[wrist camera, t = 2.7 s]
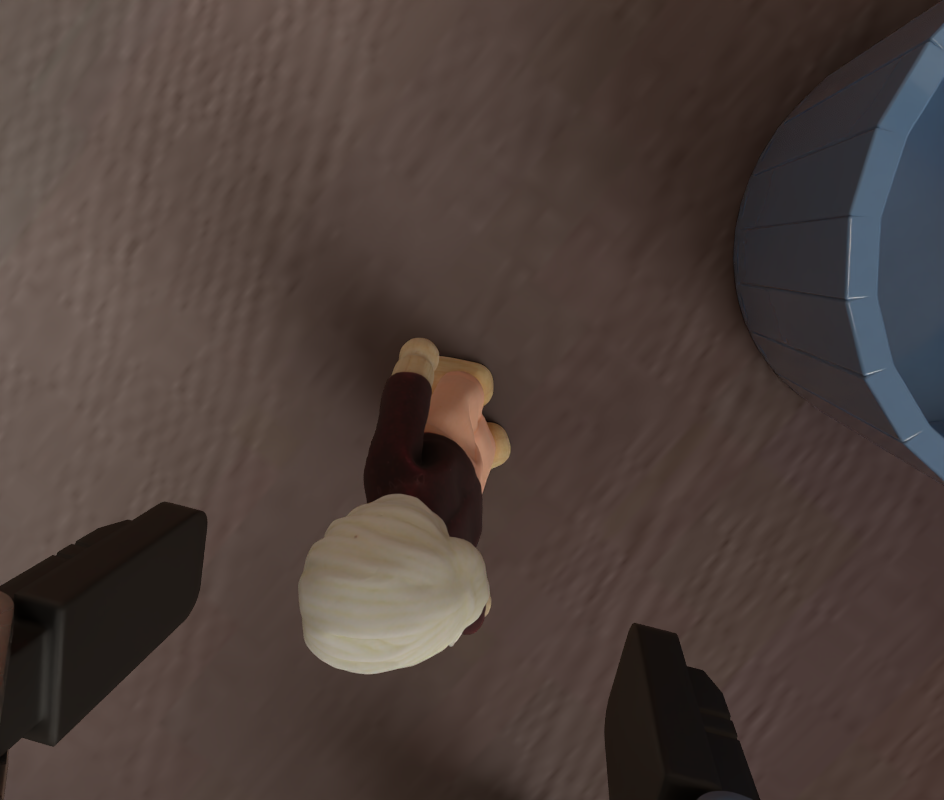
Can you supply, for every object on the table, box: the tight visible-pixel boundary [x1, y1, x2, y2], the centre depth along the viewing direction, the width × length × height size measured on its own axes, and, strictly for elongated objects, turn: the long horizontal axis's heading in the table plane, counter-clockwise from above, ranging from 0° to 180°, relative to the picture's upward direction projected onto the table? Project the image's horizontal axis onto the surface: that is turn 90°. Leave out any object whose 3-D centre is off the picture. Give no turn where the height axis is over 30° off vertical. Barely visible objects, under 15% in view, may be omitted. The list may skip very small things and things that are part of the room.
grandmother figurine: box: [298, 338, 511, 674], centre depth 17 cm, size 8×4×13 cm, turn 24°
